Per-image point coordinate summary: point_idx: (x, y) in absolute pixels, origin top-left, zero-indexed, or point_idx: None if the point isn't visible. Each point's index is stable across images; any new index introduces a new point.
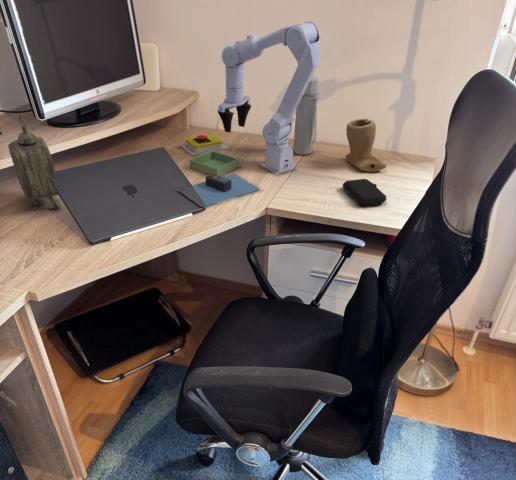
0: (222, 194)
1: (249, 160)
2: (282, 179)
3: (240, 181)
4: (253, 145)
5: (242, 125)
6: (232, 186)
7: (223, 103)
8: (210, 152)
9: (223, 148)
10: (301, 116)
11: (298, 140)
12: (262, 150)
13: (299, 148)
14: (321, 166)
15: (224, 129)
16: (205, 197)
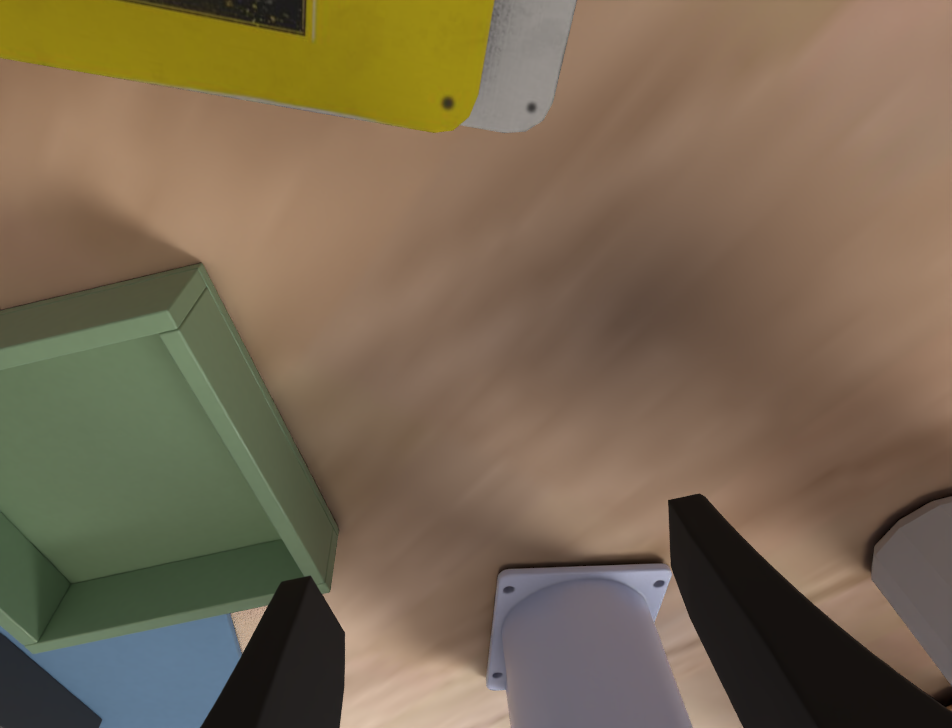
0: None
1: (507, 469)
2: (471, 715)
3: (208, 682)
4: (849, 210)
5: (678, 577)
6: (124, 703)
7: None
8: (116, 341)
9: (464, 125)
10: None
11: (944, 657)
12: (780, 365)
13: (897, 606)
14: None
15: (265, 612)
16: None
